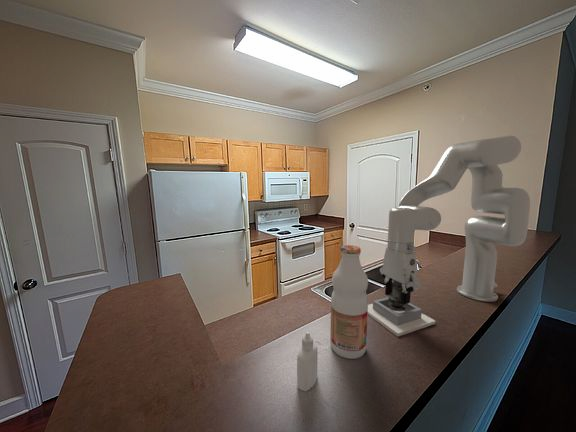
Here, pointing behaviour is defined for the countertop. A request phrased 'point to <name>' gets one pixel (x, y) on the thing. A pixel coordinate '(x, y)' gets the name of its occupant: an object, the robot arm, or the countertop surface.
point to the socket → (398, 317)
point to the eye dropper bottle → (307, 363)
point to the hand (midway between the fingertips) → (396, 298)
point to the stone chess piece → (396, 297)
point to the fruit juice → (349, 305)
